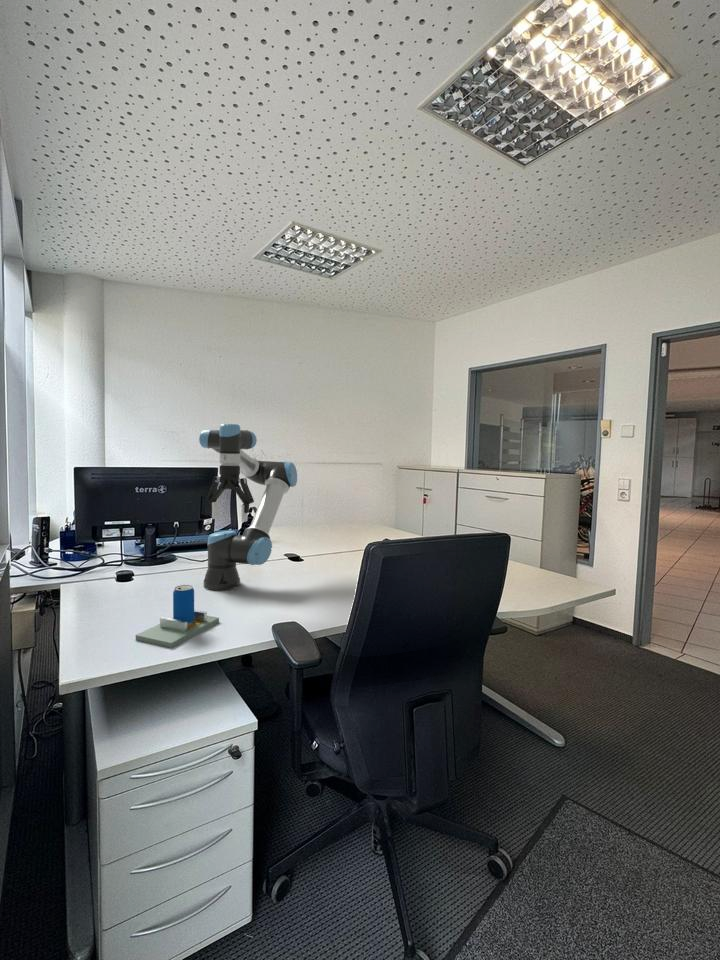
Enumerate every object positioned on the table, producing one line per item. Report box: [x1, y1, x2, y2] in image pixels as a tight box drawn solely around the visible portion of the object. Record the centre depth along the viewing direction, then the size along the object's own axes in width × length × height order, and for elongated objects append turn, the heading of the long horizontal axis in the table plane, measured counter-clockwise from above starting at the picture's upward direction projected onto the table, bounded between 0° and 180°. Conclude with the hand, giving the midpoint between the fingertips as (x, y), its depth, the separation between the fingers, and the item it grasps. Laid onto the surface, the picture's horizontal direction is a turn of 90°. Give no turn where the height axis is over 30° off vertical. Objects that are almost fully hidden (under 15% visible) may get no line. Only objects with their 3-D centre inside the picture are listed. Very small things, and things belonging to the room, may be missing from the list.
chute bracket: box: [159, 609, 208, 632], centre depth 150 cm, size 10×10×3 cm
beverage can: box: [172, 584, 195, 625], centre depth 150 cm, size 6×6×12 cm
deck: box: [135, 615, 220, 649], centre depth 149 cm, size 14×22×2 cm, turn 159°
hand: (229, 520), depth 175 cm, fingers open, 13 cm apart
